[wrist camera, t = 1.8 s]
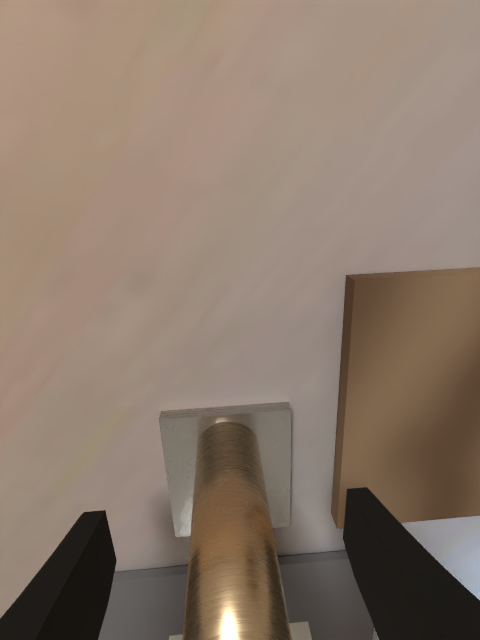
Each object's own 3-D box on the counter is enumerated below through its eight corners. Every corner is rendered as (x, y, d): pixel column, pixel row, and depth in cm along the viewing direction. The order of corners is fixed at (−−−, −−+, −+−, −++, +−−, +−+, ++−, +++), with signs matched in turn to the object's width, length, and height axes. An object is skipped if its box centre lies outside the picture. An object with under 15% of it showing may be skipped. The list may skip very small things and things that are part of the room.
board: (642, 258, 13) (668, 262, 12) (561, 492, 16) (577, 506, 16) (346, 275, 12) (354, 280, 11) (331, 512, 16) (337, 528, 15)
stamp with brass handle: (161, 410, 14) (81, 724, 6) (288, 401, 14) (390, 689, 6) (176, 525, 16) (134, 878, 8) (287, 515, 16) (362, 846, 8)
